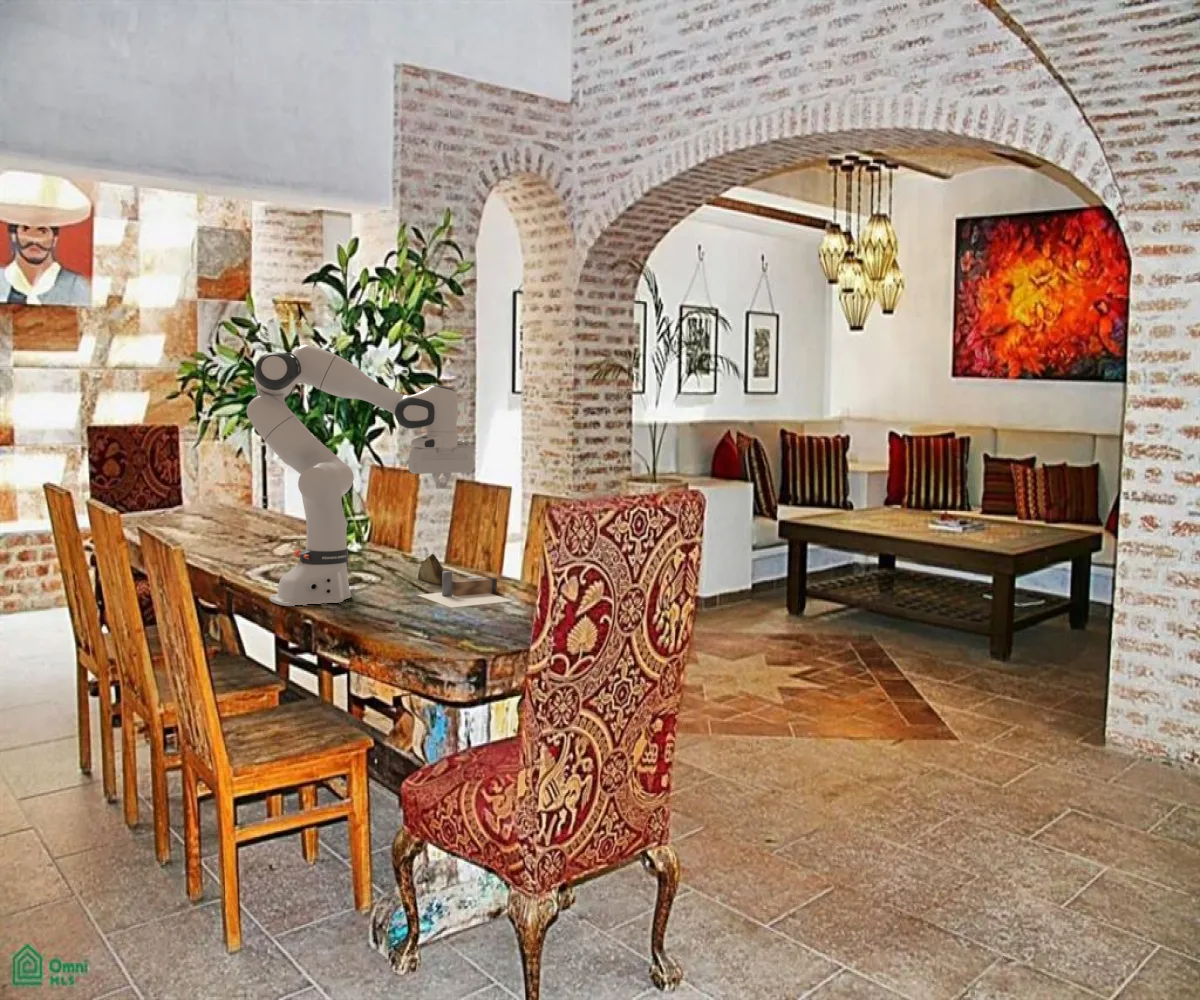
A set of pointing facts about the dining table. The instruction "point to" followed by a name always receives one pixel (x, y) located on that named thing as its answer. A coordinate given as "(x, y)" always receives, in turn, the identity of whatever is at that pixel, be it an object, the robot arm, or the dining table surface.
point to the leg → (474, 586)
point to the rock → (431, 570)
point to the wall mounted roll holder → (459, 601)
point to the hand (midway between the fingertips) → (441, 488)
